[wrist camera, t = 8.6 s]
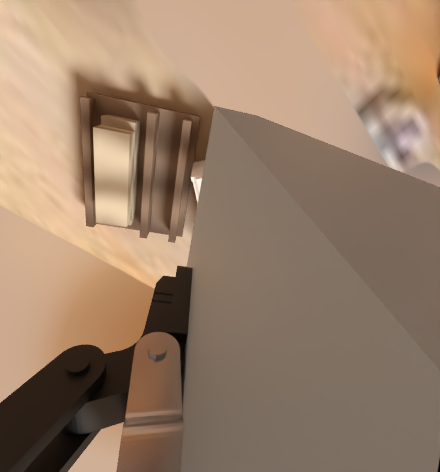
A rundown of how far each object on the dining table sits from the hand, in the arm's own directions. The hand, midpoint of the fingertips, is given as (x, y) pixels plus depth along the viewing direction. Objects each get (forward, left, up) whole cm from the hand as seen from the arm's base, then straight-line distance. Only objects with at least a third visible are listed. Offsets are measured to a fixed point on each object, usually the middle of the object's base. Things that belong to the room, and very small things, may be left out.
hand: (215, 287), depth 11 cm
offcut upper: (+4, -12, -25) cm, 28 cm away
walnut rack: (+4, -9, -29) cm, 31 cm away
